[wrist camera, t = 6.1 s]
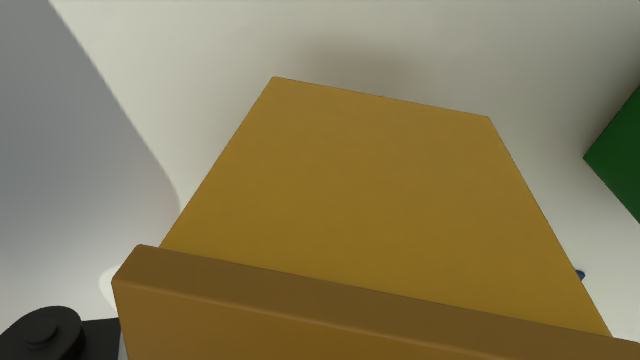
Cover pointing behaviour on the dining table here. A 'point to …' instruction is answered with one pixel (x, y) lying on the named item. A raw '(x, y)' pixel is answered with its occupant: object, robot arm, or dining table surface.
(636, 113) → the milk carton
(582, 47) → the dining table surface
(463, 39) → the dining table surface
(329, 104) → the container
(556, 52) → the dining table surface
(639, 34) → the dining table surface
